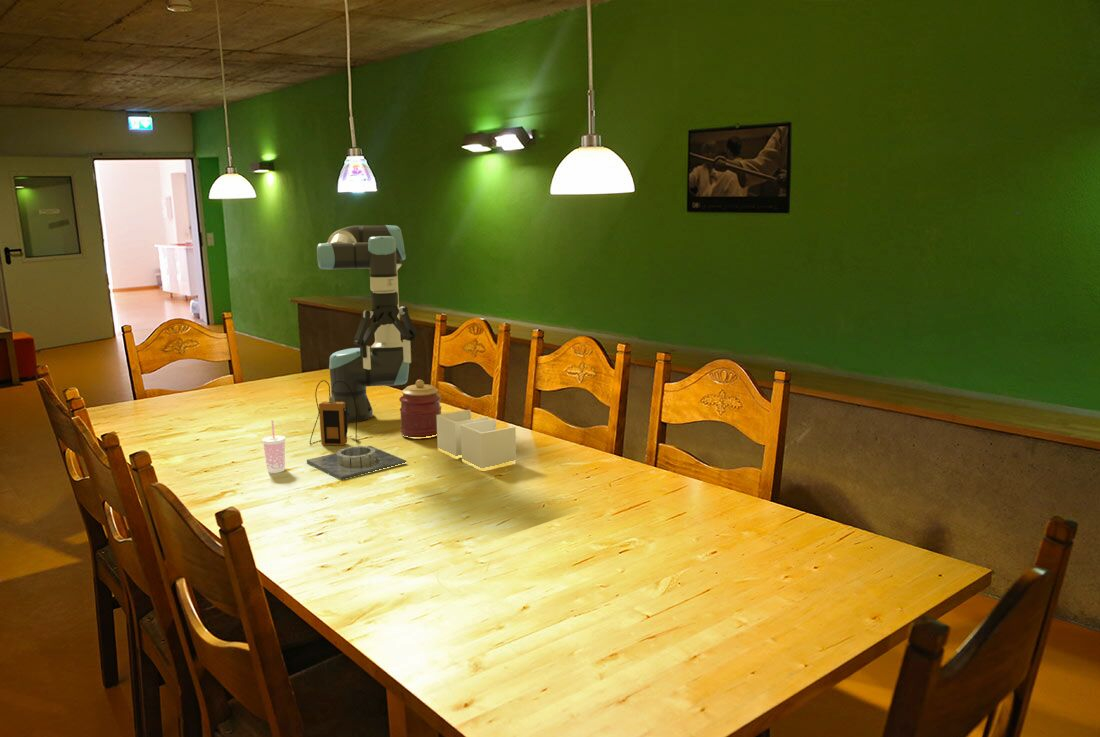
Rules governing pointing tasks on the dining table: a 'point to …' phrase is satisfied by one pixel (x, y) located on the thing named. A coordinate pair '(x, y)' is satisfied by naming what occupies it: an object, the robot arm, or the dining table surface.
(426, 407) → the canister
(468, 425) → the desk organizer
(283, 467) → the beverage cup
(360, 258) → the robot arm
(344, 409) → the multimeter
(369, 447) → the cup holder
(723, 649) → the dining table surface
